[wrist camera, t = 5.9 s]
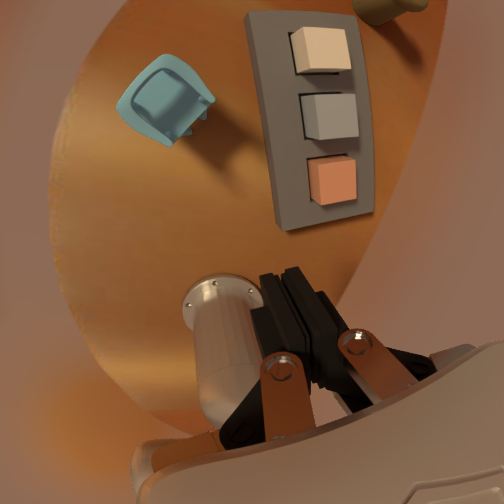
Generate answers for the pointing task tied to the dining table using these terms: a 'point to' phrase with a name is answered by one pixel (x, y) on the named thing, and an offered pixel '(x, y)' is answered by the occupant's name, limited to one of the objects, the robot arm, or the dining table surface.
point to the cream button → (320, 50)
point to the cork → (385, 9)
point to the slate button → (330, 116)
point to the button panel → (291, 115)
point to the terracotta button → (331, 178)
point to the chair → (165, 100)
